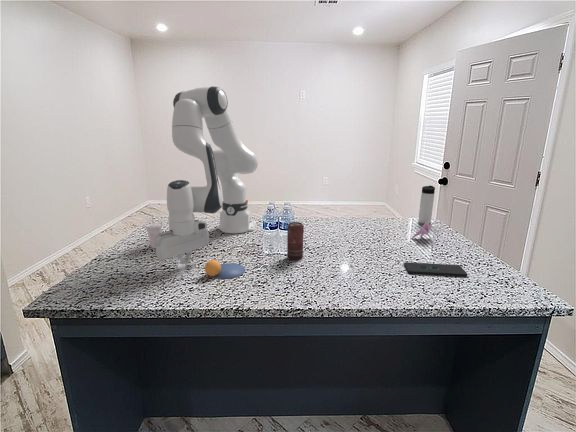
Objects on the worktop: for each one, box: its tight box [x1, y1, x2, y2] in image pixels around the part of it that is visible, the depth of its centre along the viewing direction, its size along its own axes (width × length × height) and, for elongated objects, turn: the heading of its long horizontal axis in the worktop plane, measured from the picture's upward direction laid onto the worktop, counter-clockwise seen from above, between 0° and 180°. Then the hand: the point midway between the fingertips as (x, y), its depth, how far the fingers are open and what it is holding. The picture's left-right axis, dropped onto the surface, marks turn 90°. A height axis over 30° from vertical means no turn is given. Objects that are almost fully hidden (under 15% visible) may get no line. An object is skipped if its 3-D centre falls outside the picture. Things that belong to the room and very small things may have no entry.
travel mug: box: [417, 185, 436, 226], centre depth 178 cm, size 6×7×20 cm
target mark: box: [210, 262, 246, 280], centre depth 121 cm, size 13×13×1 cm
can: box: [286, 221, 305, 261], centre depth 131 cm, size 6×6×14 cm
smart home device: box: [403, 261, 468, 278], centre depth 123 cm, size 8×2×20 cm
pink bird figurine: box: [411, 221, 436, 243], centre depth 154 cm, size 12×12×10 cm
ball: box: [204, 259, 221, 277], centre depth 117 cm, size 6×6×6 cm
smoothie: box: [145, 215, 163, 249], centre depth 142 cm, size 6×6×14 cm
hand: (185, 263), depth 123 cm, fingers closed
